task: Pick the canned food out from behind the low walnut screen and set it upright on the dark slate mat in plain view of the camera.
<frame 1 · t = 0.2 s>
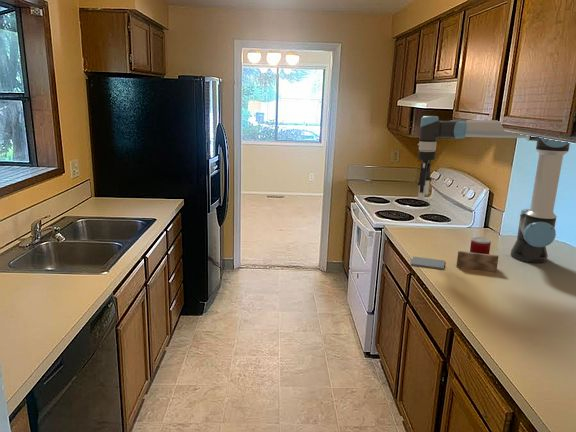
hand: (423, 196, 202), 28 cm above the table, fingers open, 13 cm apart
walnut screen: (476, 268, 189), on the table
slate mat: (427, 263, 195), on the table
canned food: (478, 263, 196), on the table
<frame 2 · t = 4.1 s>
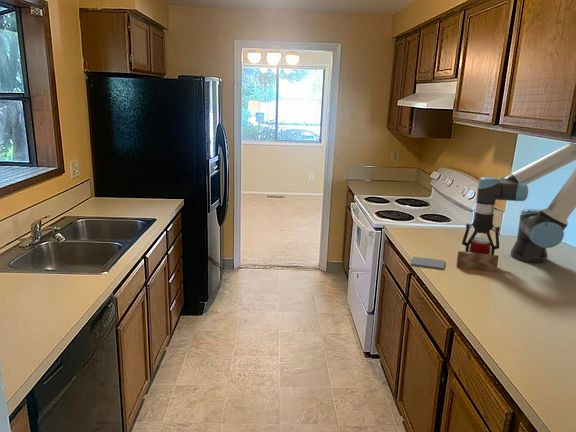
hand: (478, 261, 196), 1 cm above the table, fingers closed on canned food, 8 cm apart
canned food: (478, 263, 197), on the table, touching gripper
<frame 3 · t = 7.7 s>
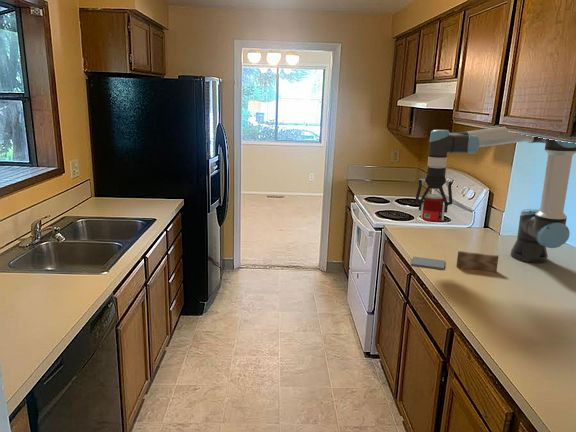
hand: (432, 218, 190), 21 cm above the table, fingers closed on canned food, 8 cm apart
canned food: (431, 220, 190), point 20 cm above the table, touching gripper
when the fingers open (2 cm above the table, at t = 11.5 s): canned food stays where it is, resting on slate mat.
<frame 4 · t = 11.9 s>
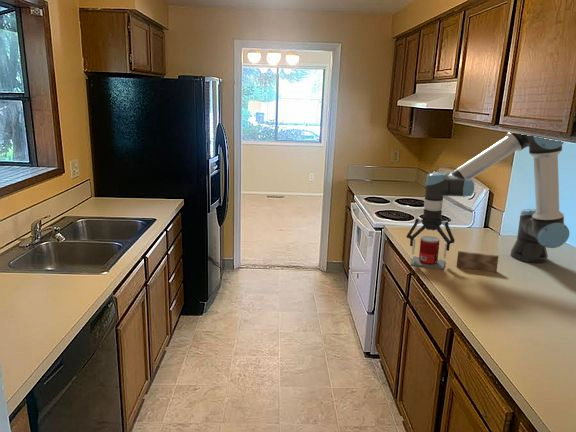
hand: (428, 255, 194), 4 cm above the table, fingers open, 13 cm apart
canned food: (428, 262, 195), point 1 cm above the table, touching slate mat
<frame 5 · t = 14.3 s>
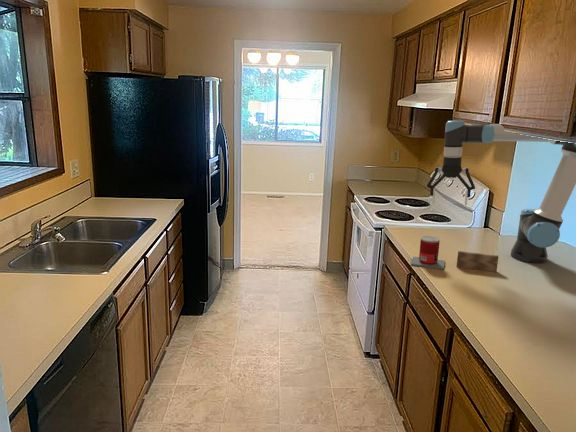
hand: (449, 203, 196), 26 cm above the table, fingers open, 13 cm apart
nothing on the table moved.
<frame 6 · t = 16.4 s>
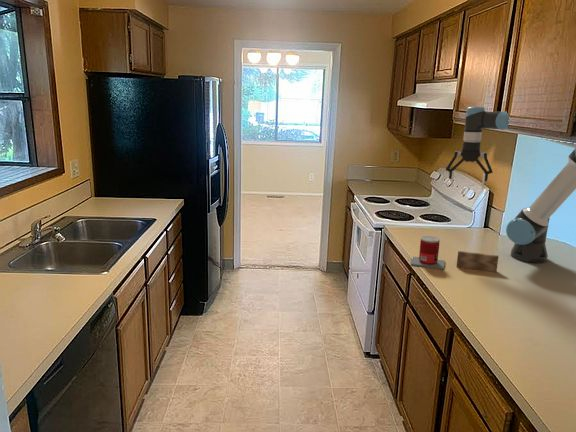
hand: (466, 186, 205), 32 cm above the table, fingers open, 13 cm apart
nothing on the table moved.
at the end: canned food inside the target area on the slate mat (0.0 cm from its centre), point 0.6 cm above the slate mat's base; canned food tilted 0°; the gripper is holding nothing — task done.
